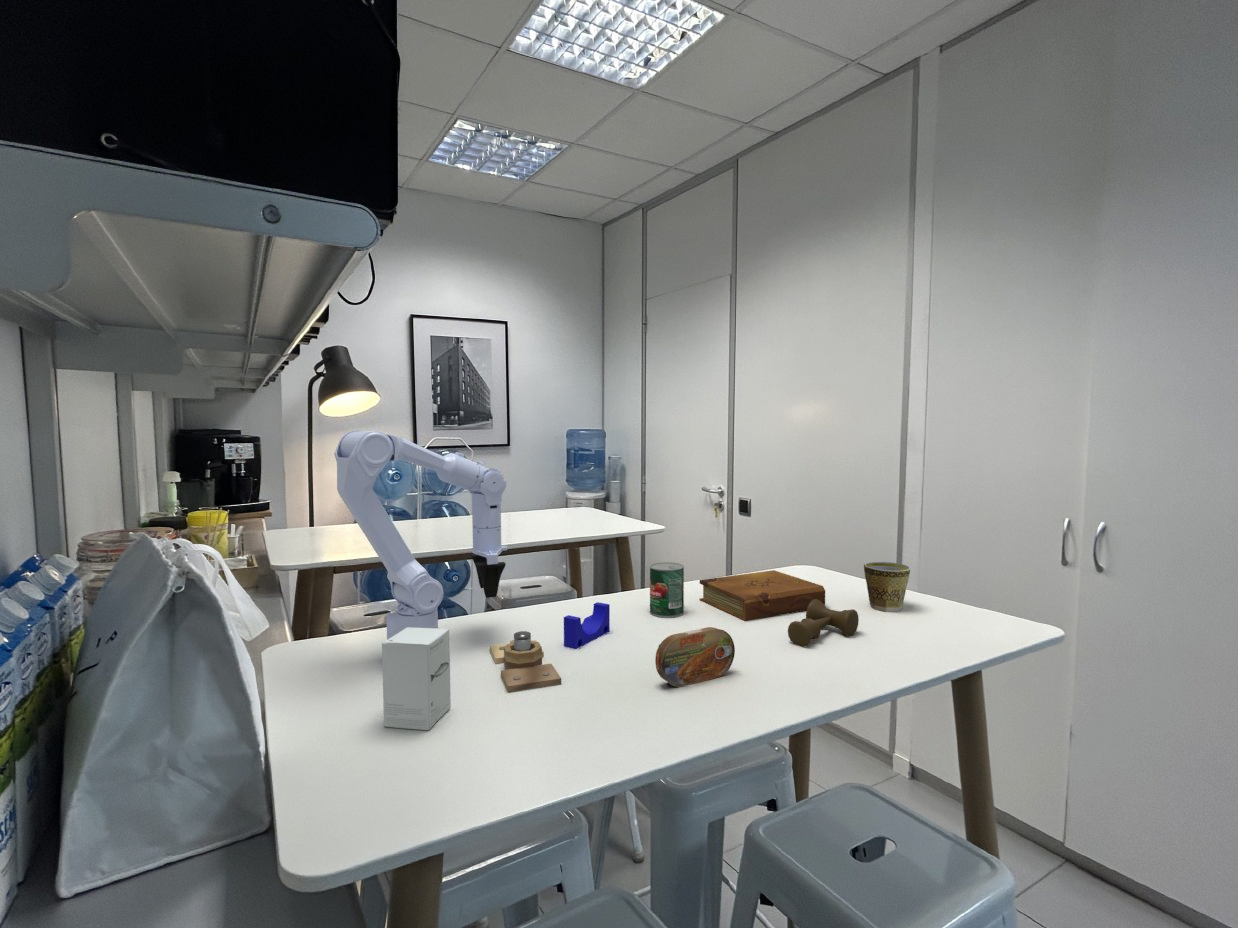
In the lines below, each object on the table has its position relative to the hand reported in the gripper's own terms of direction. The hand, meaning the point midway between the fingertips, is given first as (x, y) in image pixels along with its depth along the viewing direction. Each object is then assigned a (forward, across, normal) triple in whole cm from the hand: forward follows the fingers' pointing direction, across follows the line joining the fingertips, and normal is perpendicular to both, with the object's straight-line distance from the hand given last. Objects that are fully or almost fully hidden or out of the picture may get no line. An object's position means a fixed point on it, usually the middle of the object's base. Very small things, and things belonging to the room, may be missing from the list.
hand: (488, 592), depth 127 cm
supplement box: (+10, -32, +15) cm, 37 cm away
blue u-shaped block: (+10, -8, -18) cm, 22 cm away
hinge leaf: (+9, -15, -3) cm, 18 cm away
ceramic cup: (+10, -12, -91) cm, 92 cm away
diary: (+10, 0, -65) cm, 66 cm away
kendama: (+10, -23, -65) cm, 70 cm away
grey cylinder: (+9, -18, -4) cm, 21 cm away
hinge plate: (+9, -21, -4) cm, 24 cm away
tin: (+10, -34, -30) cm, 46 cm away
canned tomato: (+10, +2, -41) cm, 42 cm away
